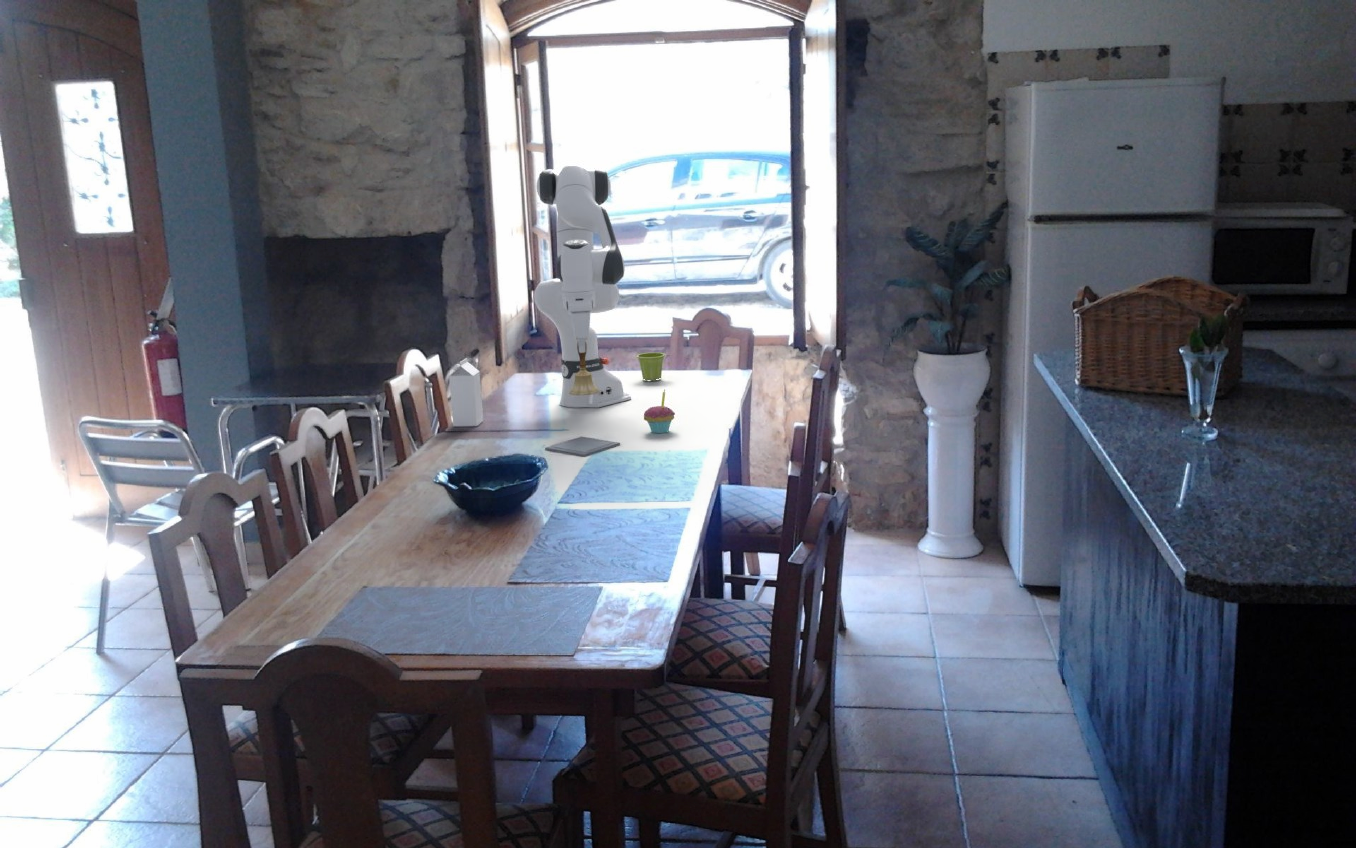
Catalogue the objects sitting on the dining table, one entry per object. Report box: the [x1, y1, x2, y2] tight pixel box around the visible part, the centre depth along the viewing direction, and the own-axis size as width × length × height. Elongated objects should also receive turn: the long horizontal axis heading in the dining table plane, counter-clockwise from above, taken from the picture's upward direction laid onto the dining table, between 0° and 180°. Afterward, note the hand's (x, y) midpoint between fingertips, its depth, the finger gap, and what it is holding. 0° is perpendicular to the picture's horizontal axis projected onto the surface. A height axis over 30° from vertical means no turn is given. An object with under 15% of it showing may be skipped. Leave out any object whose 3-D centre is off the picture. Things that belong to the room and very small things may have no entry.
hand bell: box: [569, 341, 599, 395], centre depth 320 cm, size 8×8×16 cm
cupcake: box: [643, 389, 676, 434], centre depth 320 cm, size 9×8×12 cm
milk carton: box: [448, 357, 484, 427], centre depth 337 cm, size 7×7×19 cm
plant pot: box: [636, 352, 665, 381], centre depth 394 cm, size 9×9×9 cm
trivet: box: [544, 436, 621, 458], centre depth 307 cm, size 14×14×1 cm
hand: (581, 350), depth 319 cm, fingers closed on hand bell, 3 cm apart
